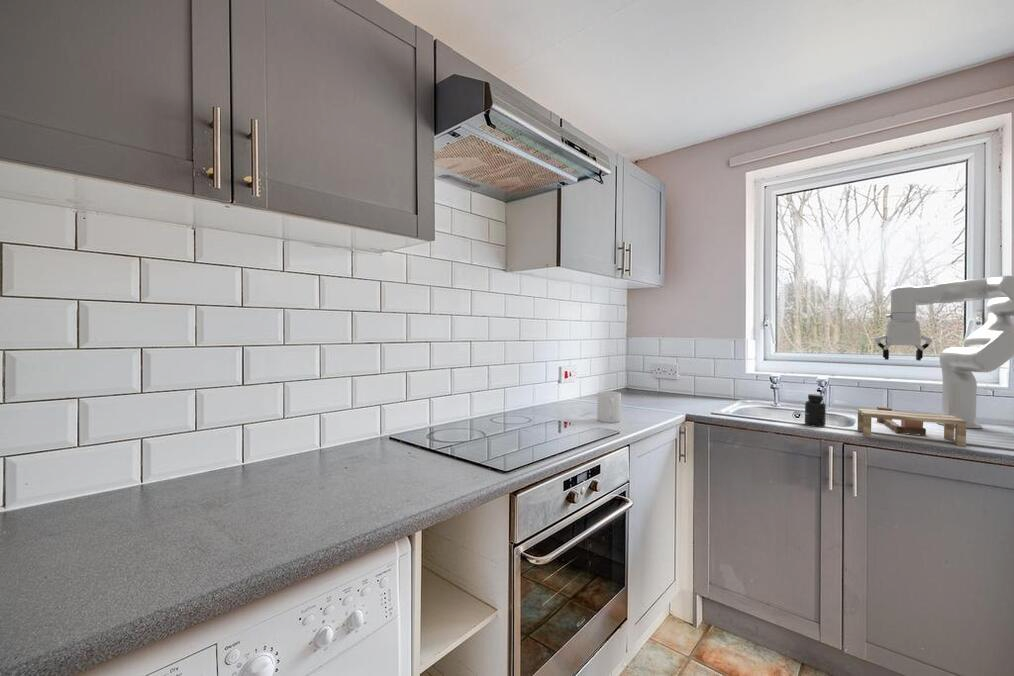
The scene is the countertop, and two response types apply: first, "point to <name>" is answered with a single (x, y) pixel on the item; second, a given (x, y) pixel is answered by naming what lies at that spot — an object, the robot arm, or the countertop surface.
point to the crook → (898, 428)
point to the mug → (609, 407)
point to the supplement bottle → (815, 410)
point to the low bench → (948, 420)
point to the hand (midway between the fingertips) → (902, 359)
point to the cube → (912, 423)
